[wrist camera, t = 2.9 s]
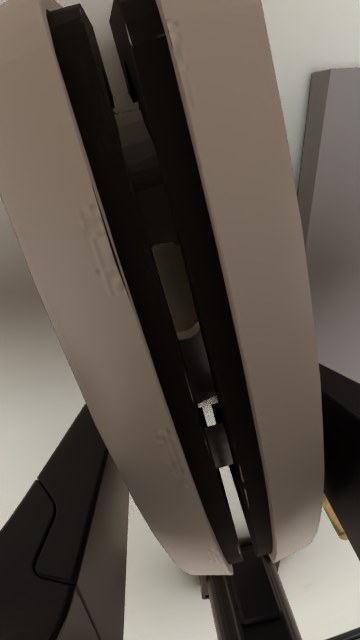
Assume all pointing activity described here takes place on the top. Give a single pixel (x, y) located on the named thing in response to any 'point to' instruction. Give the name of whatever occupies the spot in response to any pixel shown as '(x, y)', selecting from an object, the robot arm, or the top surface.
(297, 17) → the top surface
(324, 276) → the plate
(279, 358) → the curved beige panel
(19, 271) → the top surface
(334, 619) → the top surface
